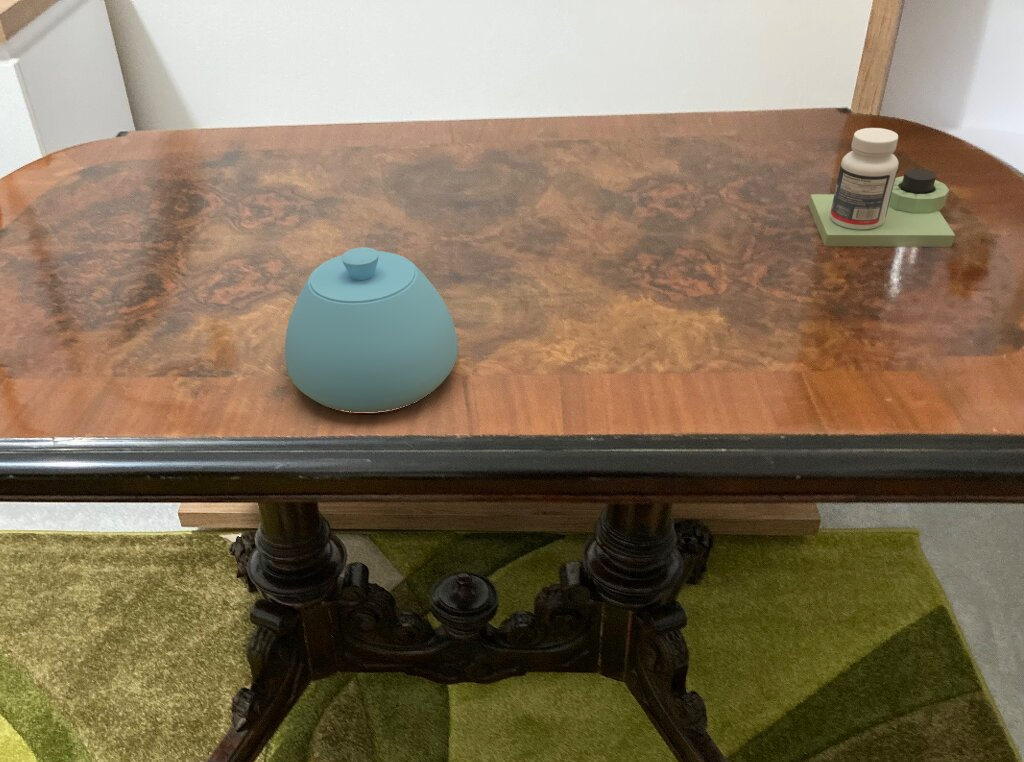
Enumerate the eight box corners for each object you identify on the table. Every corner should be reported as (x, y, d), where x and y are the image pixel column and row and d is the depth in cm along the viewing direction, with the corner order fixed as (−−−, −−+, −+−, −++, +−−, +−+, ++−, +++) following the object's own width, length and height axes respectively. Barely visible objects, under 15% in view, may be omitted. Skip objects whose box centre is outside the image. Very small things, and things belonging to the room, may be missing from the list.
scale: (931, 202, 100) (939, 175, 98) (961, 248, 91) (970, 219, 90) (806, 202, 102) (811, 176, 100) (824, 247, 94) (830, 219, 92)
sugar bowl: (270, 421, 77) (243, 299, 69) (311, 327, 88) (292, 214, 81) (448, 426, 74) (440, 300, 67) (467, 329, 86) (462, 213, 79)
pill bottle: (847, 204, 98) (866, 121, 92) (894, 218, 94) (916, 132, 89) (818, 220, 95) (836, 135, 90) (866, 235, 92) (887, 148, 86)
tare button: (927, 184, 97) (932, 168, 96) (935, 195, 95) (940, 179, 94) (897, 184, 98) (901, 168, 97) (904, 196, 96) (908, 179, 94)
